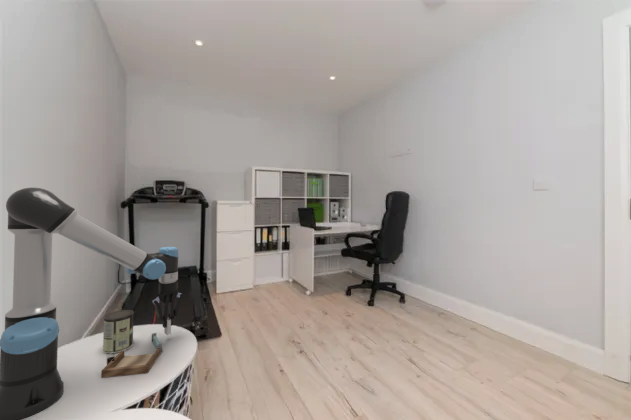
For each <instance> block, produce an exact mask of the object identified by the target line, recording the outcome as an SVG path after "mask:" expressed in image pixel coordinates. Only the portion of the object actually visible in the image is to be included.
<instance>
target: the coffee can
mask: <svg viewBox="0 0 631 420" xmlns="http://www.w3.org/2000/svg"><path fill="white" fill-rule="evenodd" d="M134 314H135V311H134V310H133V309H122V310H115V311H113V312H110V313H107V314H105V315H104V316H103V337H102V338H103V341H102V342H103V343H102V352H103V354H107V353H114V354H119V353H120V352H121V351H124V352H125V351H127V350H129V349H131V348H132V347H133V345H134V343H133V342H134V316H135V315H134ZM107 355H108V354H107Z"/></svg>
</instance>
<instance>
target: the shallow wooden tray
mask: <svg viewBox="0 0 631 420" xmlns="http://www.w3.org/2000/svg"><path fill="white" fill-rule="evenodd" d="M161 354H162V353H161V348H158V349H156V350H155V351H154V353H145V354H135V355H125V351H121V352H119V353H117V354H116V356H115V357H114V358H115V361H112V360H111V361H110V362H108V363H107V365H106V366H104V368H102V369H101V373H100V374H101V376H100V378H101V379H103V378H111V377H113V378H114V377H122V376H131V375H132V376H134V375H142V374H148V373H149V372H150V370H151V369H152V367H154V365H155V363H156V362H157V360H158V359H159V357H160V356H161Z"/></svg>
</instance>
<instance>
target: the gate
mask: <svg viewBox="0 0 631 420" xmlns="http://www.w3.org/2000/svg"><path fill="white" fill-rule="evenodd" d="M151 343H153V344H154V346H155V349H156V350H157V349H158V348H161V354H162V353H163V345H164V344H163V343H161V341H160V340H159V339H158V337H157V332H154V333H152V334H151Z"/></svg>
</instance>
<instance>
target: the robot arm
mask: <svg viewBox="0 0 631 420" xmlns="http://www.w3.org/2000/svg"><path fill="white" fill-rule="evenodd" d="M5 209H6V211H7V230H8V231H9V232H10V233H12V234H13V235H14V247H13V248H14V249H13V250H14V251H13V252H14V253H13V280H12V281H13V284H12V285H13V286H12V308H11V309H10V310H8V312H6V313H5V315H4V330H3V332H2V334H1V336H0V420H16V419H19V420H21V419H25V418H27V417H30V416H33V415H35V414H38V413H39V412H41V411H43V410H45V409H46V408H47V409H48V408H49V407H50V406H52V405H53V404H54V403H56V402H57V401H58V400H59V399H60V398H61V397H62V396H63V394H64V391H65V383H64V381H63V380H62V377H61V374H60V373H59V370H58V350H59V349H58V348H59V333H60V326H59V322H58V321H57V305H56V304H55V303H53V302H52V301H51V296H52V295H51V290H52V284H51V283H52V258H53V257H52V253H53V252H52V251H53V250H52V249H53V234H58V235H61V236H63V237H65V238H67V239H69V240H70V241H73V242H75V243H77V244H79V245H80V246H83V247H84V248H87V249H89V250H91V251H93V252H95V253H97V254H99V255H101V256H103V257H105V258H108V259H109V260H111V261H114V262H115V263H116V264H119V265H121V266H123V267H125V270H126V273H127V274H128V275H129V274H130V275H132V274H134V275H135V274H139V275H141V276H143V277H144V278H146V279H148V280H158V282H159V283H158V293H157V297H156V298H154V299H151V303H152V304H153V306H154V309H155V313H156V316H157V319H158V320H159V321H160V322H161V321H162V328H164V331H163V332H164V334H165V335H167V336H168V335H171V334H172V326H173V325H174V324H173V323H174V319H175V317H177V316H178V314H179V310H180V305H181V302H182V298H183V297H184V293H181V292H179V290H178V287H179V286H178V285H179V282H178V280H179V249H178V248H177V247H176V246H163V247H159V251H158V252H153V253H148V252H146V251H144V250H143V249H140V248H139V247H137V246H135V245H133V244H132V243H130V242H128V241H126V240H125V239H123V238H121V237H119V236H118V235H115V234H114V233H112V232H110V231H108V230H107V229H105V228H103V227H102V226H99V225H97V224H96V223H94V222H92V221H91V220H89V219H87V218H85V217H83V216H81V215H80V214H78V213H77V209H75V208H74V207H72V206H70V205H69V204H67V203H66V202H64V201H63V200H61V199H60V198H59V197H58V196H56V195H55V194H54V193H53V192H52V191H50V190H48V189H45V188H41V187H26V188H21V189H19V190H16V191H15V192H12V194H10V196H9V197H8V198H7V200H6V203H5ZM160 301H161V304H162V306H161V305H160ZM161 307H162V308H161Z"/></svg>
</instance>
